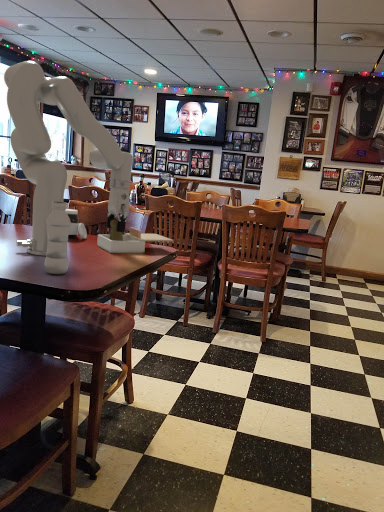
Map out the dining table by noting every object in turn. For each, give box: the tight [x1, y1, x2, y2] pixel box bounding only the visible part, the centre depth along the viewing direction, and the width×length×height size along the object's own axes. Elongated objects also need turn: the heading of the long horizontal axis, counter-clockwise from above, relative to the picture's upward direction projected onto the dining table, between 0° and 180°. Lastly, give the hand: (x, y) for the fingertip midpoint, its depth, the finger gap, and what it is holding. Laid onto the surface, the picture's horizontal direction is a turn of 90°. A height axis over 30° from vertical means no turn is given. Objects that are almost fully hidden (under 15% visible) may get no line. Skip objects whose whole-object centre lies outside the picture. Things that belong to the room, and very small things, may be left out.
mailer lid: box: [124, 226, 174, 242], centre depth 163 cm, size 14×14×4 cm
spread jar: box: [65, 208, 88, 240], centre depth 170 cm, size 12×11×12 cm
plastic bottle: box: [43, 201, 71, 275], centre depth 110 cm, size 6×7×20 cm
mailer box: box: [96, 234, 146, 254], centre depth 157 cm, size 14×14×4 cm
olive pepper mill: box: [109, 218, 124, 241], centre depth 155 cm, size 6×6×11 cm
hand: (115, 229), depth 154 cm, fingers open, 9 cm apart
